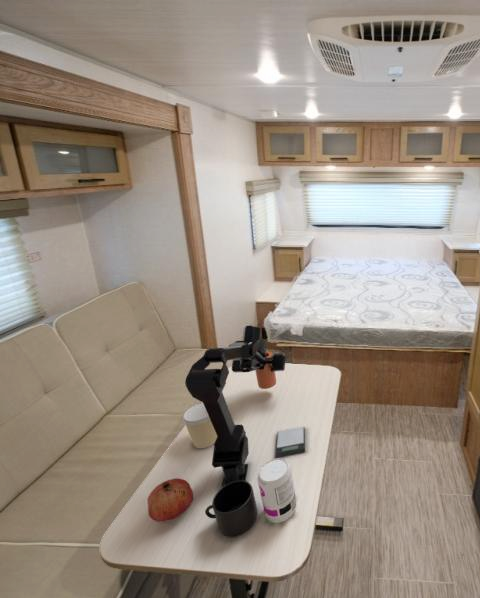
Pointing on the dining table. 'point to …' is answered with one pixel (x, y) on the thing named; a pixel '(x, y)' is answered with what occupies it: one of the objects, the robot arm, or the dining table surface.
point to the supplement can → (277, 490)
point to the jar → (266, 375)
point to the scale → (290, 441)
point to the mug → (234, 508)
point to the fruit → (169, 500)
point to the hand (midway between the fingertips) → (266, 367)
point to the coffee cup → (200, 426)
